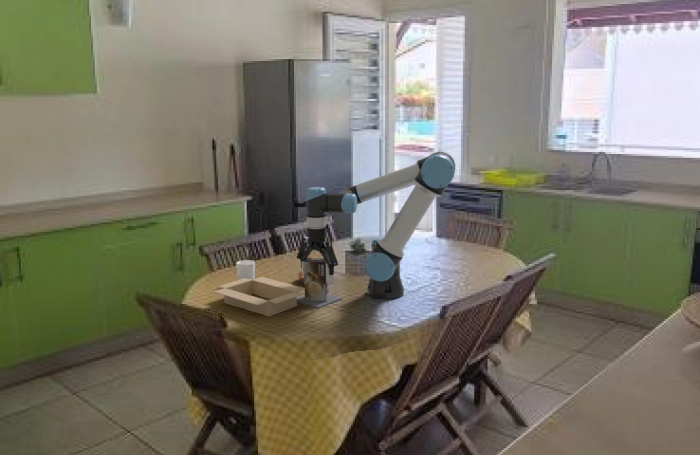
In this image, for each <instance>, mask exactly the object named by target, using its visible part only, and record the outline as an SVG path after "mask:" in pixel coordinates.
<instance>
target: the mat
mask: <svg viewBox="0 0 700 455" xmlns="http://www.w3.org/2000/svg"><path fill="white" fill-rule="evenodd" d="M329 296H330V297H329V299H328V300H327V301H311V300H305V294H303V295H301V296H298V297H297V304H301V305H305V306H309V307H312V308H316V309H321V308H324V307H326V306H329V305H331V304H334V303H336V302H339V301H342V300H343V297H339V296H336V295H332V294H329Z"/></svg>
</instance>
